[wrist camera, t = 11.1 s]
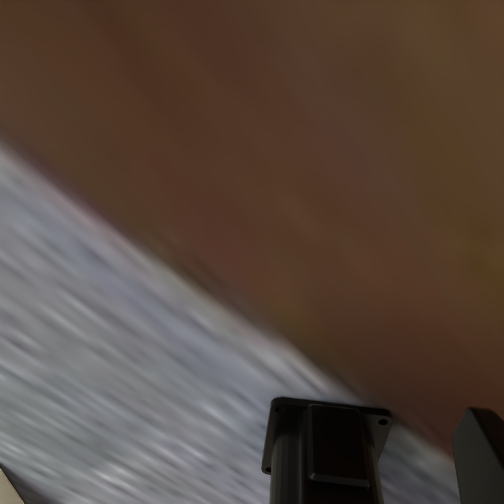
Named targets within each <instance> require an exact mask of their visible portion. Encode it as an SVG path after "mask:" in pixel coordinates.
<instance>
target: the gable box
mask: <svg viewBox="0 0 504 504" xmlns="http://www.w3.org/2000/svg"><path fill="white" fill-rule="evenodd" d="M0 504H24V502H23V501H22V499H21V498H20V496H19V495H18V493H17V492H16V490H15V489H14V487H13V486H12V484H11V483H10V481H9V480H8V478H7V477H6V475H5V474H4V472H3V471H2V469H1V468H0Z"/></svg>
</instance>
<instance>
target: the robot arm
mask: <svg viewBox="0 0 504 504" xmlns="http://www.w3.org/2000/svg"><path fill="white" fill-rule="evenodd" d="M392 424H393V420H392V415H391V413H390V412H389V411H387V410H381V409H373V408H365V407H356V406H348V405H340V404H331V403H323V402H315V401H306V400H298V399H289V398H274V399H273V400H272V401H271V405H270V412H269V418H268V425H267V431H266V438H265V445H264V451H263V458H262V467H261V469H262V472H263V473H265V474H268V475H271V484H270V504H384V500H383V493H382V487H381V481H380V475H379V468H378V460H379V458H380V455H381V453H382V450H383V447H384V445H385V442H386V439H387V437H388V434H389V431H390V429H391V426H392ZM452 448H453V454H454V461H455V468H456V474H457V481H458V487H459V494H460V500H461V504H504V421H503V420H502V419H501V418H500V416H499V415H498V414H497V413H495V412H494V411H493V410H491V409H488V408H480V407H468V408H467V409H466V410H465V411H464V413H463V415H462V417H461V419H460V421H459V423H458V425H457V427H456V429H455V431H454V434H453V437H452Z"/></svg>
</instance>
